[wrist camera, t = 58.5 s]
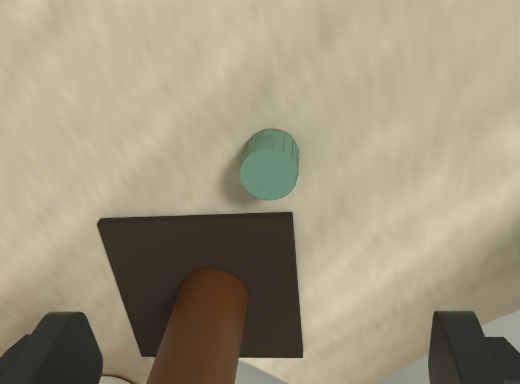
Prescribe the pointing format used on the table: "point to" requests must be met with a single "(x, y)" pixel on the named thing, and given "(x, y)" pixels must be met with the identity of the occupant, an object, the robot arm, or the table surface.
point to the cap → (270, 164)
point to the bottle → (203, 331)
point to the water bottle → (112, 380)
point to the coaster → (209, 257)
